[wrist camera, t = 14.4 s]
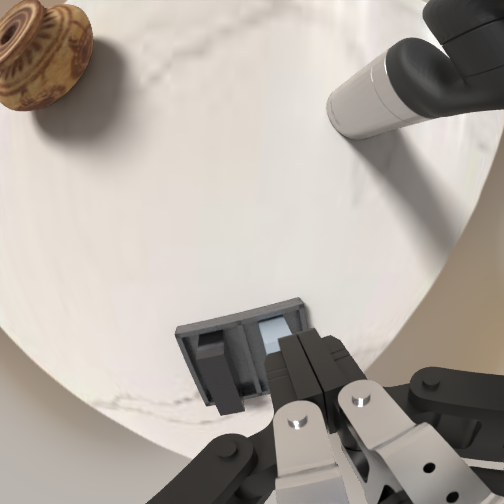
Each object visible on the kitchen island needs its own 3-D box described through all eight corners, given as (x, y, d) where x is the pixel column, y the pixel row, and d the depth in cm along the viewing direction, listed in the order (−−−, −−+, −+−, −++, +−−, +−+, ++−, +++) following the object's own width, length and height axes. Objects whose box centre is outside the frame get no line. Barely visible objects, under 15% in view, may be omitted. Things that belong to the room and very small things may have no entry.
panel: (282, 314, 42) (293, 336, 35) (293, 371, 45) (303, 396, 38) (257, 321, 42) (264, 344, 35) (272, 377, 45) (279, 403, 38)
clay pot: (120, 71, 29) (4, 53, 11) (53, 129, 36) (-38, 141, 17) (108, -2, 24) (24, -31, 6) (46, 56, 31) (-30, 52, 13)
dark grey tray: (298, 297, 43) (313, 317, 35) (311, 373, 46) (324, 399, 39) (176, 326, 41) (169, 352, 34) (207, 398, 45) (206, 426, 38)
